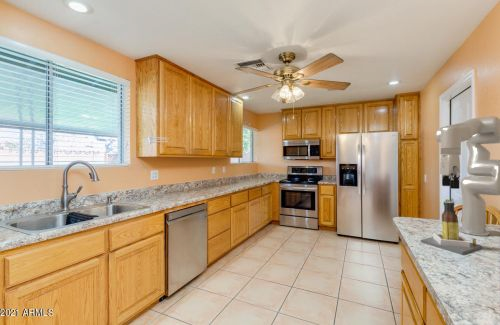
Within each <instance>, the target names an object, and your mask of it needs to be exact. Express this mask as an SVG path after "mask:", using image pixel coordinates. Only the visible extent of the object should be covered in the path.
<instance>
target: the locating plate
mask: <svg viewBox="0 0 500 325" xmlns="http://www.w3.org/2000/svg"><path fill="white" fill-rule="evenodd" d="M420 243H422V244H426V245H429V246H432V247H436V248H438V249H443V250H445V251H449V252H452V253H456V254H459V255H465V254H468V253H472V252H475V251H478V250H480V249H481V250H482V249H483V245H482V244H477V238H474V237H473V238H472V242H470V241H468V239H466V238H464V237H463V236H462V235H459V241H456V240H446V239H443V238H442V233H435V232H434V233H432V236H430V237H427V238H423V239H421V240H420Z"/></svg>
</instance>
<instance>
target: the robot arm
mask: <svg viewBox="0 0 500 325" xmlns="http://www.w3.org/2000/svg"><path fill="white" fill-rule="evenodd" d="M434 138H435V140H436V141H437V143H440V166H439V174H440V175H441V186H443V187H449V188H450V189H452V190H456V189H457V190H458V189H460V190H461V195H462V196H461V197H462V200H461V202H462V203H461V204H462V207H461V208H462V209H461V213H462V214H461V216H462V217H461V222H462V224H461V227H458V228H459V233H460V232H461V233H463V234H467V235H470V236H479V237H487V236H488V237H489V236H490V232H489V231H488V230H486V229H487V228H488V225H487V224H486V221H487V220H486V218H487V217H486V215H487V214H486V211H487V210H486V208H487V207H486V206H487V204H486V201H485V199H484V198H483V197H482V195H483V196H484V195H487V196H500V159H490V158H491V152H490V151H489V149H488V148H487V147H485V146H484V145H488V144H490V145H492V144H500V118H499V117H498V116H493V115H492V116H484V117H475V118H469V119H467V120H466V121H464V122H458V123H455V124H449V125H445V126H442V127H440V128H438V129H437V130H436V132H435V134H434ZM464 142H465V143H466V144H465V145H466V146H467V148H468V151H469V157H468V162H467V167H466V168H467V169H466V170H467V174H468V175H470V176H464V177H462V178H461V160H460V155H462V154H461V153H462V152H461V151H462V146H461V145H462V143H464ZM460 178H461V179H460Z"/></svg>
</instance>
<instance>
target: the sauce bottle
mask: <svg viewBox="0 0 500 325" xmlns="http://www.w3.org/2000/svg"><path fill="white" fill-rule="evenodd" d="M459 228H460V227H459V218H458V216H457V213H456V212H455V202H454V201H449V200H448V201H443V212H442V213H441V234H442V238H443V239H446V240H456V241H459V236H460V231H459Z"/></svg>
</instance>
